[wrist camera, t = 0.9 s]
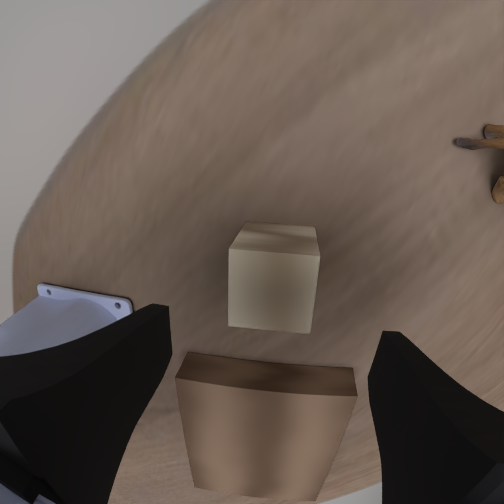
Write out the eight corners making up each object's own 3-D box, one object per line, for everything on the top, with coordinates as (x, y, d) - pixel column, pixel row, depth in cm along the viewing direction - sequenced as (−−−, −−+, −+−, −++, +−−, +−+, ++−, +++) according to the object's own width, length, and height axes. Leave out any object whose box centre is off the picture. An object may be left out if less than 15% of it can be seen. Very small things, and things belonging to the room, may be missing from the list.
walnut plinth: (201, 465, 28) (194, 487, 25) (188, 351, 23) (175, 377, 20) (315, 478, 27) (315, 501, 24) (352, 368, 21) (357, 396, 19)
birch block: (244, 283, 20) (228, 325, 16) (246, 221, 19) (228, 248, 14) (308, 289, 20) (310, 333, 15) (314, 226, 18) (320, 256, 14)
